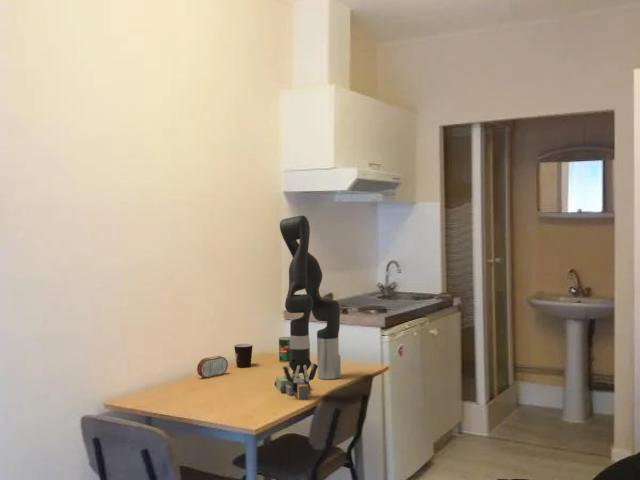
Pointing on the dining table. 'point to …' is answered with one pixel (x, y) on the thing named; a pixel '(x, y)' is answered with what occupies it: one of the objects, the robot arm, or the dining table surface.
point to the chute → (301, 389)
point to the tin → (212, 366)
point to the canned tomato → (284, 349)
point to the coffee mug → (243, 355)
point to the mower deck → (286, 384)
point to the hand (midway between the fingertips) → (300, 391)
